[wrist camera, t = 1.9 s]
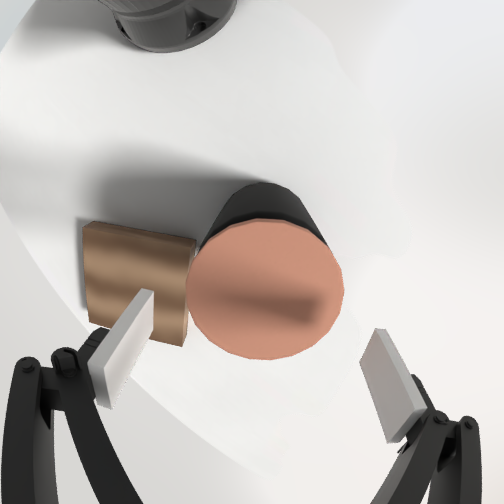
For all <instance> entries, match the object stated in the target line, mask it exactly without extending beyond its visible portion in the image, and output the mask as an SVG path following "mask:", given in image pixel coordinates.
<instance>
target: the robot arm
mask: <svg viewBox="0 0 504 504" xmlns="http://www.w3.org/2000/svg"><path fill="white" fill-rule="evenodd" d="M98 1H100V2H101V3H103V4H104V5H106V6H107V7H109V8H110V9H112V11H113V14H114V17H115V20H116V23H117V25H118V28H119V30H120V31H121V33H122V34H123V35H124V36H125V37H126V38H127V39H128V40H129V41H130V42H132V43H133V44H135V45H136V46H138V47H140V48H142V49H145V50H148V51H152V52H159V53H168V52H176V51H181V50H185V49H188V48H191V47H194V46H196V45H198V44H200V43H202V42H204V41H206V40H208V39H209V38H211V37H212V36H213V35H215V34H216V33H217V32H218V31H219V30H221V29H222V28H223V26H224V25H225V24H226V23H227V22H228V20H229V19H230V17H231V16H232V14H233V12H234V9H235V6H236V2H237V0H98ZM153 306H154V291H152V290H147V289H143V288H141V290H140V291H139V292H138V293H137V295H136V296H135V297H134V299H133V300H132V301H131V303H130V304H129V305H128V307H127V308H126V309H125V311H124V312H123V313H122V315H121V316H120V317H119V319H118V320H117V321H116V323H115V324H114V326H113V327H112V328H111V330H109V329H106V328H102V327H100V328H98V329H96V330H95V331H93V332H92V333H91V335H90V336H89V337H88V339H87V340H86V341H85V342H84V344H83V345H82V346H81V348H80V349H79V350H78V352H77V351H76V350H74V349H72V348H69V347H63V348H60V349H57V350H56V351H54V352H53V354H52V355H51V362H52V365H53V368H49V367H41V365H40V363H39V361H38V360H37V359H35V358H34V357H24V358H21V359H20V360H19V361H18V362H17V363H16V365H15V368H14V373H13V378H12V383H11V388H10V393H9V398H8V404H7V411H6V418H5V426H4V435H3V446H2V464H1V496H2V497H1V498H2V504H59V503H58V495H57V487H56V475H55V459H54V410H59V411H64V412H65V415H66V419H67V422H68V425H69V428H70V431H71V435H72V438H73V441H74V444H75V446H76V449H77V452H78V455H79V457H80V460H81V462H82V465H83V468H84V470H85V472H86V475H87V477H88V480H89V482H90V484H91V486H92V489H93V491H94V493H95V495H96V497H97V499H98V501H99V503H100V504H143V502H142V501H141V499H140V497H139V496H138V494H137V492H136V491H135V489H134V487H133V485H132V484H131V482H130V480H129V478H128V476H127V474H126V472H125V471H124V469H123V467H122V465H121V463H120V461H119V459H118V457H117V455H116V453H115V451H114V449H113V446H112V444H111V442H110V440H109V437H108V435H107V433H106V431H105V428H104V426H103V424H102V421H101V419H100V416H99V414H98V412H97V409H96V406H95V404H94V399H95V397H96V401H97V404H98V405H101V406H103V407H106V408H109V409H113V407H114V405H115V403H116V401H117V399H118V397H119V395H120V393H121V391H122V389H123V386H124V384H125V383H126V381H127V379H128V377H129V375H130V373H131V371H132V369H133V367H134V365H135V363H136V361H137V359H138V358H139V356H140V354H141V352H142V350H143V348H144V346H145V344H146V342H147V340H148V339H149V337H150V335H151V333H152V331H153ZM360 366H361V369H362V371H363V374H364V377H365V379H366V382H367V385H368V388H369V390H370V393H371V396H372V399H373V402H374V405H375V408H376V411H377V413H378V417H379V420H380V423H381V425H382V428H383V431H384V435H385V438H386V441H387V443H398V442H400V441H401V440H402V439H403V438H404V437H405V435H406V438H407V440H408V441H407V442H406V443H405V444H404V445H403V446H402V447H401V449H400V450H399V451H398V452H397V453H399V452H400V451H401V452H400V454H399V456H398V457H397V459H396V461H395V463H394V465H393V467H392V469H391V470H390V472H389V474H388V476H387V477H386V479H385V481H384V483H383V484H382V486H381V488H380V489H379V491H378V493H377V494H376V496H375V497H374V499H373V500H372V502H371V503H370V504H420V503H421V501H422V499H423V497H424V495H425V492H426V490H427V488H428V485H429V483H430V480H431V484H430V491H429V497H428V503H427V504H481V497H482V466H481V448H480V435H479V426H478V423H477V422H476V420H475V419H474V418H472V417H470V416H464V417H462V419H461V420H460V421H459V422H456V421H450V420H449V418H448V417H447V415H446V414H445V413H443V412H441V411H438V410H435V408H434V406H433V404H432V402H431V400H430V398H429V396H428V394H427V393H426V391H425V389H424V388H423V385H422V383H421V381H420V380H419V379H418V378H417V377H416V376H415V375H414V374H410V373H409V371H408V369H407V367H406V365H405V363H404V361H403V359H402V358H401V356H400V354H399V352H398V350H397V349H396V347H395V345H394V343H393V341H392V339H391V338H390V336H389V334H388V332H387V331H386V330H385V329H377V328H375V330H374V332H373V335H372V337H371V339H370V341H369V343H368V345H367V348H366V350H365V352H364V354H363V356H362V358H361V360H360Z"/></svg>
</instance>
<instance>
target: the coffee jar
mask: <svg viewBox="0 0 504 504" xmlns="http://www.w3.org/2000/svg"><path fill="white" fill-rule="evenodd" d="M343 296H344V286H343V279H342V272H341V268H340V267H339V265H338V263H337V261H336V259H335V258H334V256H333V254H332V252H331V250H330V248H329V247H328V245H327V243H326V242H325V240H324V238H323V236H322V235H321V233H320V231H319V230H318V228H317V226H316V225H315V223H314V221H313V220H312V218H311V216H310V215H309V213H308V211H307V210H306V208H305V207H304V205H303V203H302V202H301V200H300V198H298V197H297V196H296V195H295V194H294V193H292V192H291V191H290V190H289V189H287V188H284V187H282V186H279V185H277V184H272V183H257V184H253V185H249V186H246V187H244V188H242V189H241V190H239V191H238V192H236V193H235V194H233V195H232V197H231V198H230V199H229V200H228V202H227V203H226V204H225V206H224V207H223V209H222V210H221V212H220V214H219V215H218V217H217V219H216V220H215V222H214V224H213V226H212V227H211V229H210V231H209V232H208V234H207V236H206V237H205V239H204V241H203V243H202V244H201V246H200V249H199V252H198V254H197V255H196V257H195V258H194V259H193V261H192V263H191V266H190V270H189V273H188V276H187V279H186V300H187V306H188V309H189V311H190V313H191V316H192V318H193V320H194V323H195V325H196V326H197V327H198V328H199V329H200V331H201V332H202V333H203V334H204V335H205V336H206V337H207V339H208V340H209V341H211V342H212V343H214V344H215V345H217V346H218V347H220V348H222V349H223V350H225V351H226V352H228V353H231V354H234V355H238V356H241V357H244V358H248V359H259V360H274V359H279V358H284V357H289V356H293V355H295V354H297V353H300V352H302V351H304V350H306V349H308V348H310V347H312V346H313V345H314V344H316V343H317V342H318V341H319V340H320V339H321V338H322V337H323V336H324V335H326V334H327V333H328V332H329V330H330V329H331V327H332V325H333V324H334V322H335V320H336V319H337V317H338V315H339V314H340V310H341V305H342V300H343Z"/></svg>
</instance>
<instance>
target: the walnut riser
mask: <svg viewBox="0 0 504 504" xmlns="http://www.w3.org/2000/svg"><path fill="white" fill-rule="evenodd" d="M195 246H196V240H194V239H188V238H183V237H177V236H172V235H166V234H161V233H156V232H150V231H145V230H139V229H134V228H128V227H123V226H118V225H112V224H107V223H101V222H96V221H93V222H91V223H90V224H88V225H86V226H84V227H83V259H84V276H85V288H86V298H87V308H88V316H89V322H91V323H94V324H97V325H100V326H104V327H107V328H110V329H111V328H112V327H113V326H114V324H115V323H116V321H117V320H118V319H119V317H120V316H121V315H122V313H123V312H124V311H125V309H126V308H127V307H128V305H129V304H130V303H131V301H132V300H133V299H134V297H135V296H136V295H137V293H138V292H139V291H140V290H141V288H143V289H147V290H152V291H154V306H153V331H152V333H151V335H150V337H149V339H151V340H155V341H159V342H163V343H167V344H171V345H176V346H180V347H182V346H183V343H184V340H185V338H186V335H187V323H188V312H189V309H188V306H187V300H186V279H187V276H188V273H189V270H190V266H191V263H192V261H193V259H194V254H195Z"/></svg>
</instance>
